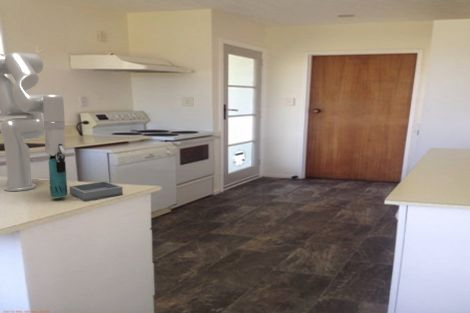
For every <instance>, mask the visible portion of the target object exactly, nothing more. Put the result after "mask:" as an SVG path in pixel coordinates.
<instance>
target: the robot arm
mask: <svg viewBox="0 0 470 313" xmlns="http://www.w3.org/2000/svg"><path fill="white" fill-rule="evenodd" d="M43 68H44V63H43V60H42V58H41V57H40V55H38V54H36V53H32V52H20V51H12V52H11V51H10V52H9V53H7V54H6V53H5V54H2V53H0V114H1V115H2V116H4V117H13V118H7V119H5V120H3V121H2V122H1V123H0V133H1V137H2V141H3V144H4V146H3V147H4V154H5V155H4V156H5V164H6V165H5V166H6V177H7V185H5V186H4V187H3V188H4V191H6V192H20V191H28V190H32V189H34V188H36V187H37V184H36V183H33V180H32V166H31V154H30V147H29V146H28V144H27V143H25V140H29V139H31V140H32V139H33V140H34V139H39V138H41V137H43V136H44V135H45V136H44V146H45V148H44V150H45V154H46V155H48V162H49V161H50V160H51V159H53V158H56V159H57V162H56V168H57V172H65V171H66V172H67V168H66V169H65V164H66V162H65V161H66V154H67V153H66V152H67V151H66V138H65V133H64V131H65V130H66V121H65V106H64V105H65V104H64V97H63V95H61V94H49V93H48V94H47V93H45V94H44V93H27V92H26V91H27V90H30V89H33V87H35V86H36V85H37V84H39V80H40V78H39V75H38V74H40V73H41V72H42V71H43ZM6 75H12V77H13V79H14V80H15V83H14V82H13V81H12V80H11V79H10V78H9V77H7V76H6ZM42 114H43V115H42ZM42 116H43V117H42ZM59 153H61V154H59ZM55 155H56V156H55Z"/></svg>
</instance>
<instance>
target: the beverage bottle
mask: <svg viewBox="0 0 470 313" xmlns="http://www.w3.org/2000/svg"><path fill="white" fill-rule="evenodd" d="M59 154H61V153H59ZM55 156H56V155H55ZM56 162H57V159H56V158H53V159H51V160H50V161H49V160H48V172H49V194H50V197H51V198H62V197H63V198H64V197H66V196H67V195H68V183H67V166H66V165H67V164H66V160H65V169H66V171H65V172H57V168H56Z"/></svg>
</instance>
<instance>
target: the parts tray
mask: <svg viewBox="0 0 470 313" xmlns="http://www.w3.org/2000/svg"><path fill="white" fill-rule="evenodd" d="M69 195H70V196H72V197H75V198H77V199H79V200H81V201H83V202H89V201H90V202H91V201H96V200H102V199H107V198H108V199H109V198H112V197H113V198H114V197H118V196H123V186H121V185H118V184H115V183H112V182H109V181H107V180H103V181H99V182H92V183H84V184H83V183H82V184H76V185H70V186H69Z"/></svg>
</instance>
